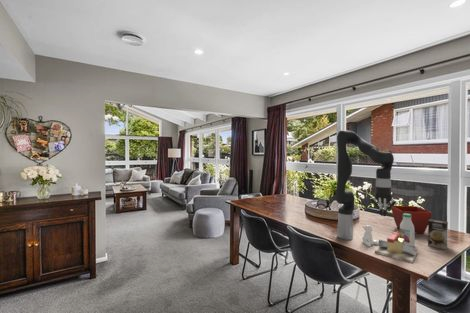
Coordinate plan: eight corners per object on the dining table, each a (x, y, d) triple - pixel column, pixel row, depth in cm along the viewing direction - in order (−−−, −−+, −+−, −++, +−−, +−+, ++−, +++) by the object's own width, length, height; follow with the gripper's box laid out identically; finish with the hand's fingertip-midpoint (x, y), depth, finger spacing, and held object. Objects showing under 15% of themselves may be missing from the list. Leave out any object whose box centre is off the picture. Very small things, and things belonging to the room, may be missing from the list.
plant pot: (432, 235, 165) (432, 212, 165) (402, 234, 169) (402, 211, 169) (417, 227, 184) (417, 206, 184) (390, 226, 188) (390, 205, 187)
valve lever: (393, 237, 139) (393, 231, 139) (400, 238, 136) (400, 233, 136) (386, 243, 128) (386, 238, 128) (394, 245, 126) (394, 239, 126)
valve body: (377, 248, 140) (377, 236, 140) (381, 245, 145) (381, 234, 145) (412, 257, 128) (412, 244, 127) (415, 253, 132) (415, 241, 132)
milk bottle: (408, 242, 152) (408, 212, 152) (417, 247, 145) (417, 215, 145) (396, 242, 152) (396, 212, 152) (405, 247, 145) (405, 215, 144)
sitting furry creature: (368, 247, 146) (368, 228, 146) (357, 242, 154) (357, 224, 154) (380, 245, 148) (380, 226, 148) (368, 240, 157) (368, 223, 156)
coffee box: (427, 245, 147) (427, 220, 147) (428, 243, 152) (428, 218, 151) (447, 249, 140) (447, 223, 140) (447, 246, 145) (447, 221, 145)
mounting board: (374, 252, 137) (374, 250, 137) (382, 245, 148) (382, 243, 148) (412, 263, 124) (412, 260, 124) (417, 253, 135) (417, 251, 135)
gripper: (368, 185, 136) (368, 214, 136) (395, 187, 126) (395, 219, 126) (372, 184, 141) (372, 212, 141) (398, 186, 131) (398, 216, 131)
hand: (383, 215), depth 134 cm, fingers closed
